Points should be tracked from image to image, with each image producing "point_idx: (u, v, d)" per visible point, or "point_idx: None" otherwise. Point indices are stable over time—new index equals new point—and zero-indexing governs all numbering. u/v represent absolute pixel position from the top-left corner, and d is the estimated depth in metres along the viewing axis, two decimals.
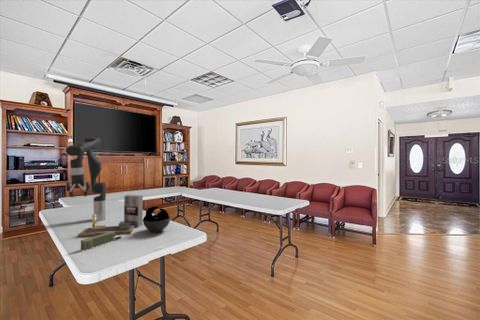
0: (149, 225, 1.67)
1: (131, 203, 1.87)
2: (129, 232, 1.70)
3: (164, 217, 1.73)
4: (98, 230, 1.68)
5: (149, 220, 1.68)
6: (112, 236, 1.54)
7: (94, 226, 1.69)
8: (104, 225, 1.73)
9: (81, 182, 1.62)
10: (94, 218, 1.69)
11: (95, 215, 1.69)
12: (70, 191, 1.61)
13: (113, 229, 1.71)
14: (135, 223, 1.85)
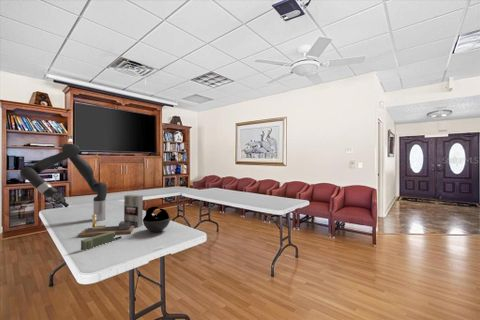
0: (149, 225, 1.67)
1: (131, 203, 1.87)
2: (129, 232, 1.70)
3: (164, 217, 1.73)
4: (98, 230, 1.68)
5: (149, 220, 1.68)
6: (112, 236, 1.54)
7: (94, 226, 1.69)
8: (104, 225, 1.73)
9: None
10: (94, 218, 1.69)
11: (95, 215, 1.69)
12: None
13: (113, 229, 1.71)
14: (135, 223, 1.85)
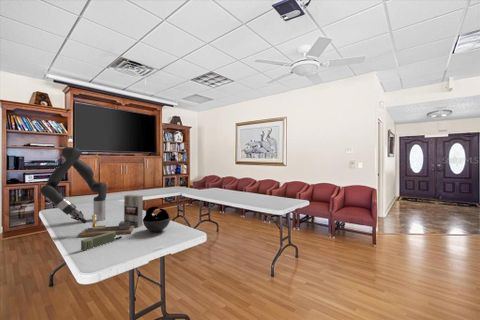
0: (149, 225, 1.67)
1: (131, 203, 1.87)
2: (129, 232, 1.70)
3: (164, 217, 1.73)
4: (98, 230, 1.68)
5: (149, 220, 1.68)
6: (113, 236, 1.54)
7: (94, 226, 1.69)
8: (104, 225, 1.73)
9: None
10: (94, 218, 1.69)
11: (95, 215, 1.69)
12: None
13: (113, 229, 1.71)
14: (135, 223, 1.85)
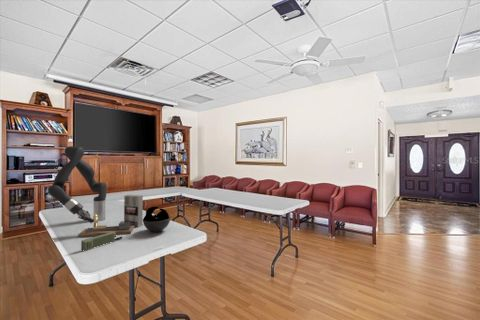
0: (149, 225, 1.67)
1: (131, 203, 1.87)
2: (129, 232, 1.70)
3: (164, 217, 1.73)
4: (98, 230, 1.68)
5: (149, 220, 1.68)
6: (113, 236, 1.53)
7: (95, 226, 1.69)
8: (105, 225, 1.73)
9: None
10: (95, 218, 1.69)
11: (96, 215, 1.69)
12: None
13: (113, 229, 1.71)
14: (135, 223, 1.85)
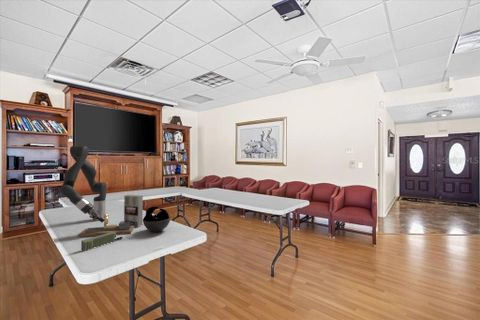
0: (149, 225, 1.67)
1: (131, 203, 1.87)
2: (129, 232, 1.70)
3: (164, 217, 1.73)
4: (98, 230, 1.68)
5: (149, 220, 1.68)
6: (113, 236, 1.53)
7: (106, 225, 1.71)
8: None
9: None
10: (106, 217, 1.71)
11: (107, 214, 1.71)
12: None
13: (113, 229, 1.71)
14: (135, 223, 1.85)
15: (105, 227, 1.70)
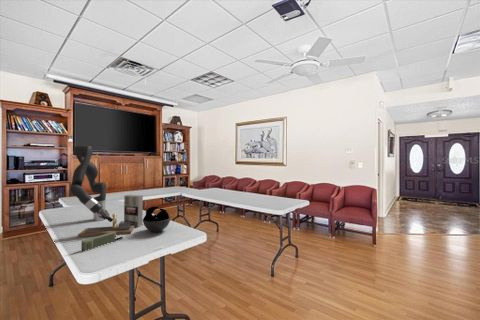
0: (149, 225, 1.67)
1: (131, 203, 1.87)
2: (129, 232, 1.70)
3: (164, 217, 1.73)
4: (98, 230, 1.68)
5: (149, 220, 1.68)
6: (113, 237, 1.53)
7: (114, 225, 1.72)
8: None
9: None
10: (114, 217, 1.72)
11: (115, 214, 1.73)
12: None
13: (113, 229, 1.71)
14: (135, 223, 1.85)
15: (114, 226, 1.72)
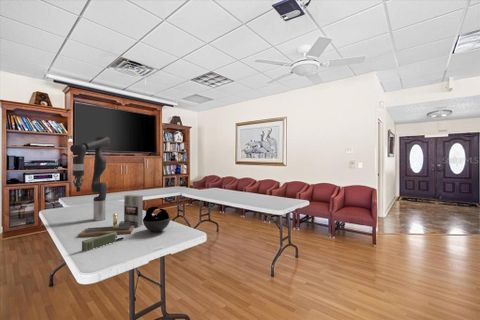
0: (149, 225, 1.67)
1: (131, 203, 1.87)
2: (129, 232, 1.70)
3: (164, 217, 1.73)
4: (98, 230, 1.68)
5: (149, 220, 1.68)
6: (114, 237, 1.52)
7: (115, 225, 1.72)
8: None
9: None
10: (115, 217, 1.72)
11: (116, 214, 1.73)
12: None
13: (113, 229, 1.71)
14: (135, 223, 1.85)
15: (114, 226, 1.72)
